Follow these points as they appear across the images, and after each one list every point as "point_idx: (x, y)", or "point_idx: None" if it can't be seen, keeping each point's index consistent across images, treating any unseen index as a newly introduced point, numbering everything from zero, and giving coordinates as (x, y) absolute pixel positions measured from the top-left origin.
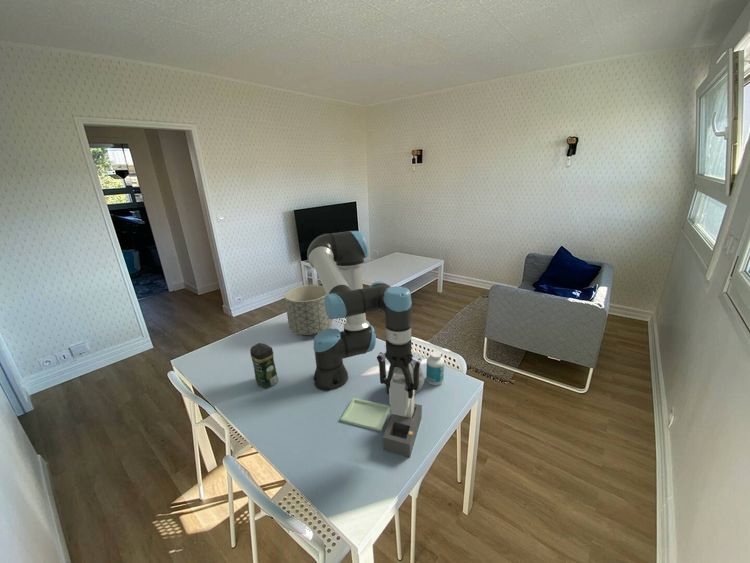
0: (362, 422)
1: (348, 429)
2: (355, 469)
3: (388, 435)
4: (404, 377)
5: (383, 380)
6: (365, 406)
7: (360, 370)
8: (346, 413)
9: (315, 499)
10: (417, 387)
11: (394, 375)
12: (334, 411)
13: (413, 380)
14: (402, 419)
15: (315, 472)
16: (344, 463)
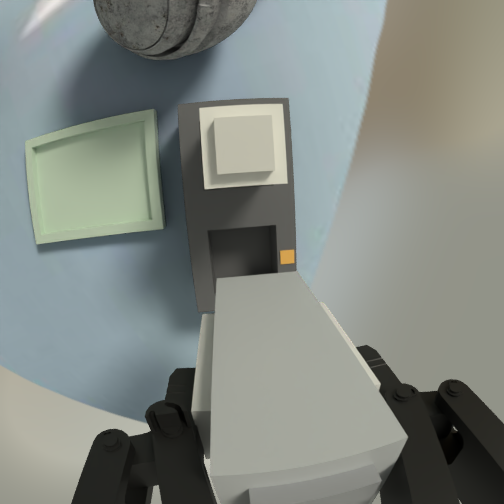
0: (94, 228)
1: (73, 255)
2: (162, 355)
3: (213, 297)
4: (370, 490)
5: (149, 501)
6: (70, 149)
7: (17, 24)
8: (37, 216)
9: (136, 418)
10: (451, 436)
11: (232, 495)
12: (11, 212)
13: (227, 2)
14: (235, 205)
15: (95, 382)
16: (130, 351)
